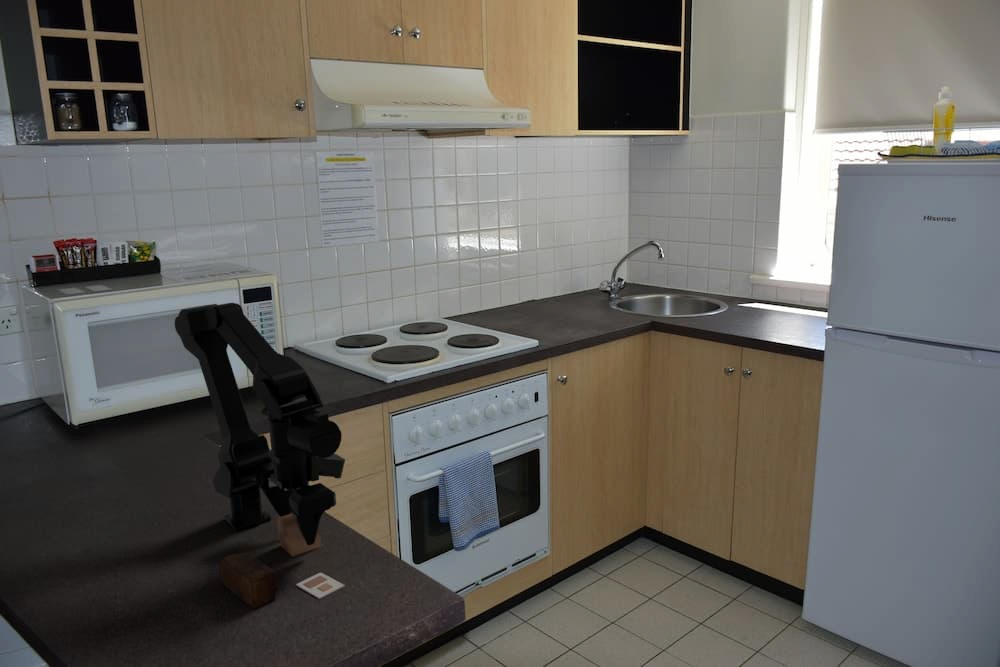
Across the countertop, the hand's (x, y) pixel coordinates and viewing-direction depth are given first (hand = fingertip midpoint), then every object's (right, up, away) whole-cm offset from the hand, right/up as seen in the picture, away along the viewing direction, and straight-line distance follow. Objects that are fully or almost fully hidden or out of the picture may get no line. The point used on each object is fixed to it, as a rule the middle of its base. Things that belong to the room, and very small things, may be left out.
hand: (299, 534), depth 125 cm
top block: (0, -2, 0) cm, 2 cm away
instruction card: (+6, -4, -12) cm, 15 cm away
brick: (-4, -5, -13) cm, 14 cm away
